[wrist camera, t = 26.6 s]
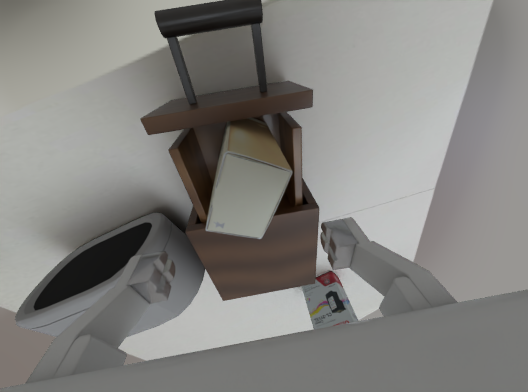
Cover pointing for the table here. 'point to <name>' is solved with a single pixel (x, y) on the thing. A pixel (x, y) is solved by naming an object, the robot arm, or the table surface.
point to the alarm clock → (113, 276)
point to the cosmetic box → (247, 180)
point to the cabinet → (261, 252)
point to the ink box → (328, 302)
